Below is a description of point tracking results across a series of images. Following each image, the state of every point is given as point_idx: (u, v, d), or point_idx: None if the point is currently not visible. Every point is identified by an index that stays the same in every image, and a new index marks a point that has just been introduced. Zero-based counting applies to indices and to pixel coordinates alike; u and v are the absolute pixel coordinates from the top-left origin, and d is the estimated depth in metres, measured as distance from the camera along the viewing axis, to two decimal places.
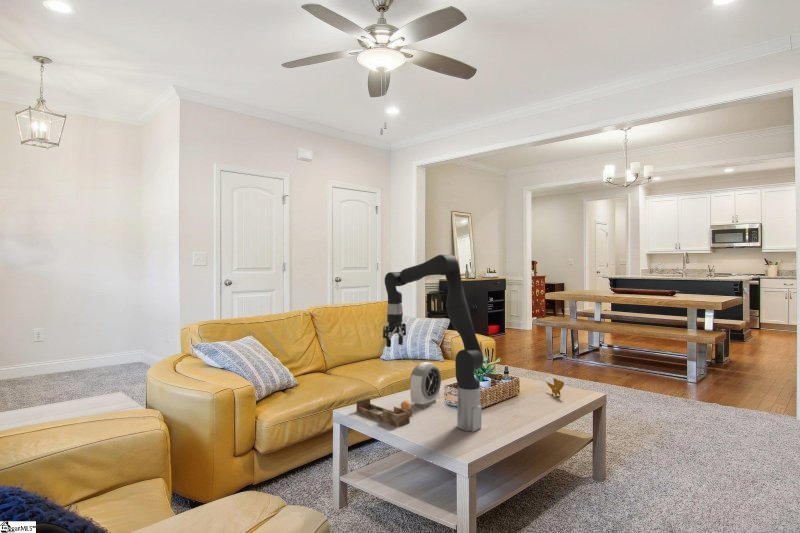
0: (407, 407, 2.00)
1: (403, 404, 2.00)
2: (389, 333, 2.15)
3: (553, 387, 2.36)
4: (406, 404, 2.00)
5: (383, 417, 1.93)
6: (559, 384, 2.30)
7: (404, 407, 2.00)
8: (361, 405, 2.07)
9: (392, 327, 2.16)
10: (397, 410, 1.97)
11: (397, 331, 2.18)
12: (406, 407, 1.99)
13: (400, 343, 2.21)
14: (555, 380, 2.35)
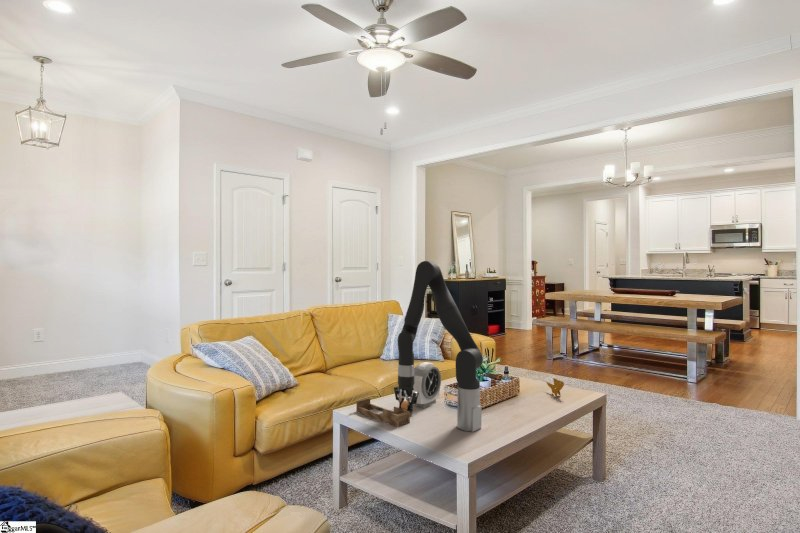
0: (407, 407, 2.00)
1: (403, 404, 2.00)
2: (410, 398, 2.00)
3: (553, 387, 2.36)
4: (406, 404, 2.00)
5: (383, 417, 1.93)
6: (559, 384, 2.30)
7: (404, 407, 2.00)
8: (361, 405, 2.07)
9: None
10: (397, 410, 1.97)
11: None
12: (406, 407, 1.99)
13: None
14: (555, 380, 2.35)
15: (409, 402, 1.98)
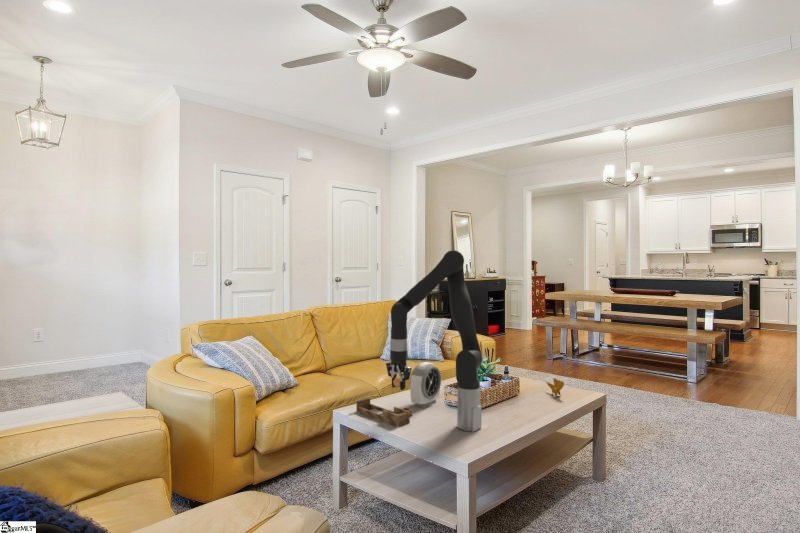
0: None
1: (395, 380, 1.91)
2: (403, 374, 1.90)
3: (553, 387, 2.36)
4: (398, 380, 1.91)
5: (383, 417, 1.93)
6: (559, 384, 2.30)
7: (396, 383, 1.90)
8: (361, 405, 2.07)
9: None
10: (397, 410, 1.97)
11: None
12: (399, 383, 1.90)
13: None
14: (555, 380, 2.35)
15: (402, 378, 1.89)
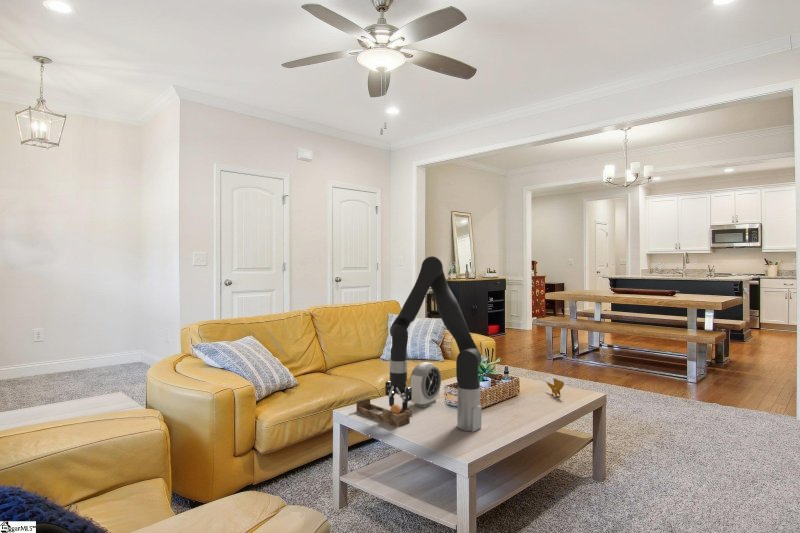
0: (396, 408, 1.92)
1: (391, 408, 1.92)
2: (404, 394, 1.90)
3: (553, 387, 2.36)
4: (393, 406, 1.92)
5: (383, 417, 1.93)
6: (559, 384, 2.30)
7: (393, 409, 1.92)
8: (361, 405, 2.07)
9: None
10: None
11: None
12: (395, 408, 1.92)
13: (392, 404, 1.95)
14: (555, 380, 2.35)
15: (403, 398, 1.88)
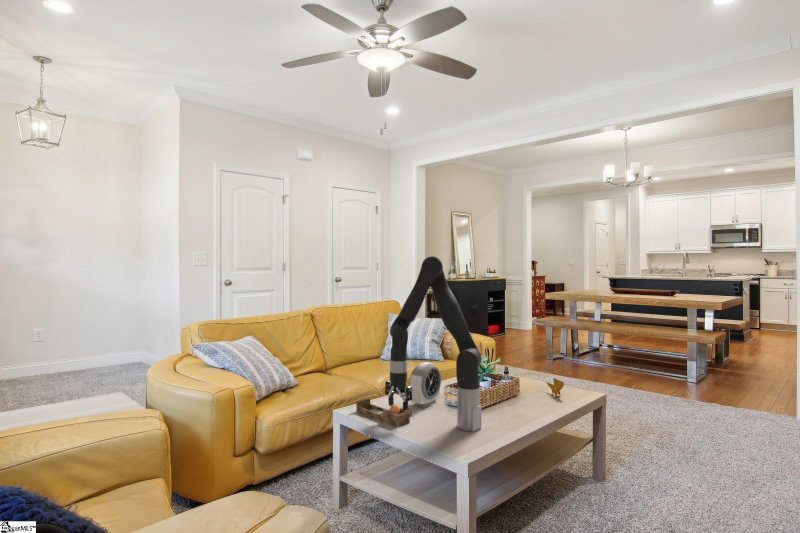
0: (394, 407, 1.92)
1: (390, 408, 1.93)
2: (404, 394, 1.90)
3: (553, 387, 2.36)
4: (392, 406, 1.93)
5: (383, 417, 1.93)
6: (559, 384, 2.30)
7: (392, 409, 1.92)
8: (361, 405, 2.07)
9: None
10: None
11: None
12: (393, 407, 1.92)
13: (392, 403, 1.95)
14: (555, 380, 2.35)
15: (404, 398, 1.88)
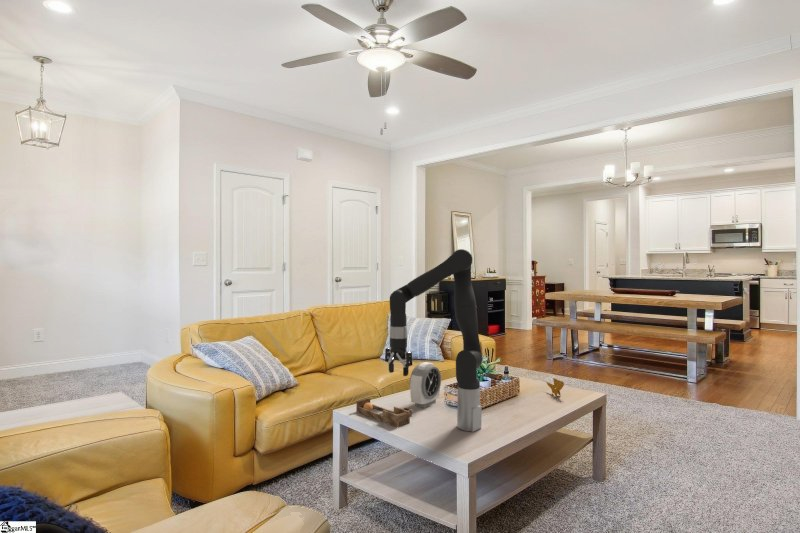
0: None
1: None
2: (405, 360, 1.89)
3: (553, 387, 2.36)
4: None
5: (383, 417, 1.93)
6: (559, 384, 2.30)
7: (363, 407, 2.05)
8: (361, 405, 2.07)
9: None
10: (397, 410, 1.97)
11: None
12: (363, 407, 2.06)
13: (392, 370, 1.95)
14: (555, 380, 2.35)
15: (404, 363, 1.88)
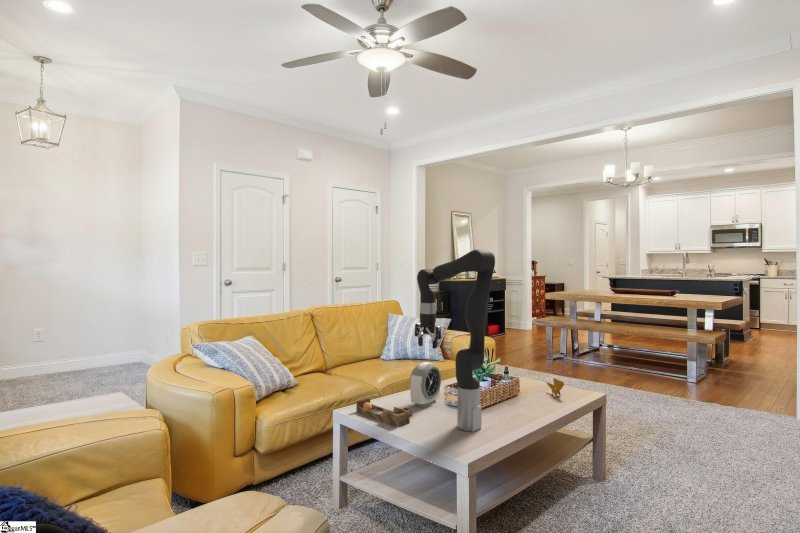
0: None
1: None
2: (434, 334, 2.04)
3: (553, 387, 2.36)
4: None
5: (383, 417, 1.93)
6: (559, 384, 2.30)
7: None
8: (361, 405, 2.07)
9: None
10: (397, 410, 1.97)
11: None
12: None
13: (421, 344, 2.10)
14: (555, 380, 2.35)
15: (433, 337, 2.03)
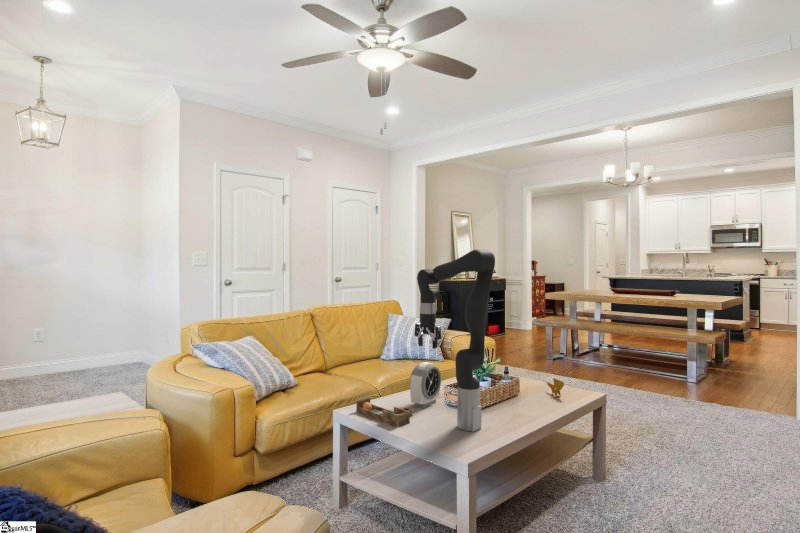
0: None
1: None
2: (434, 334, 2.04)
3: (553, 387, 2.36)
4: None
5: (383, 417, 1.93)
6: (559, 384, 2.30)
7: None
8: (361, 405, 2.07)
9: None
10: (397, 410, 1.97)
11: None
12: None
13: (421, 344, 2.10)
14: (555, 380, 2.35)
15: (433, 337, 2.03)
